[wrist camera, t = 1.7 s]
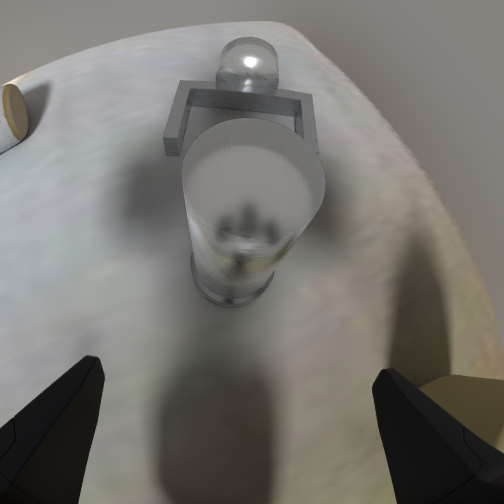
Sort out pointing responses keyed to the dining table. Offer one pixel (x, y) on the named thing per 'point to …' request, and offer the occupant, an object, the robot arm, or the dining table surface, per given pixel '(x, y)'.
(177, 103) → the duct saddle
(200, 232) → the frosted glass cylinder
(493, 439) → the squeeze bottle
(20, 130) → the ceramic mug
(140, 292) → the dining table surface
